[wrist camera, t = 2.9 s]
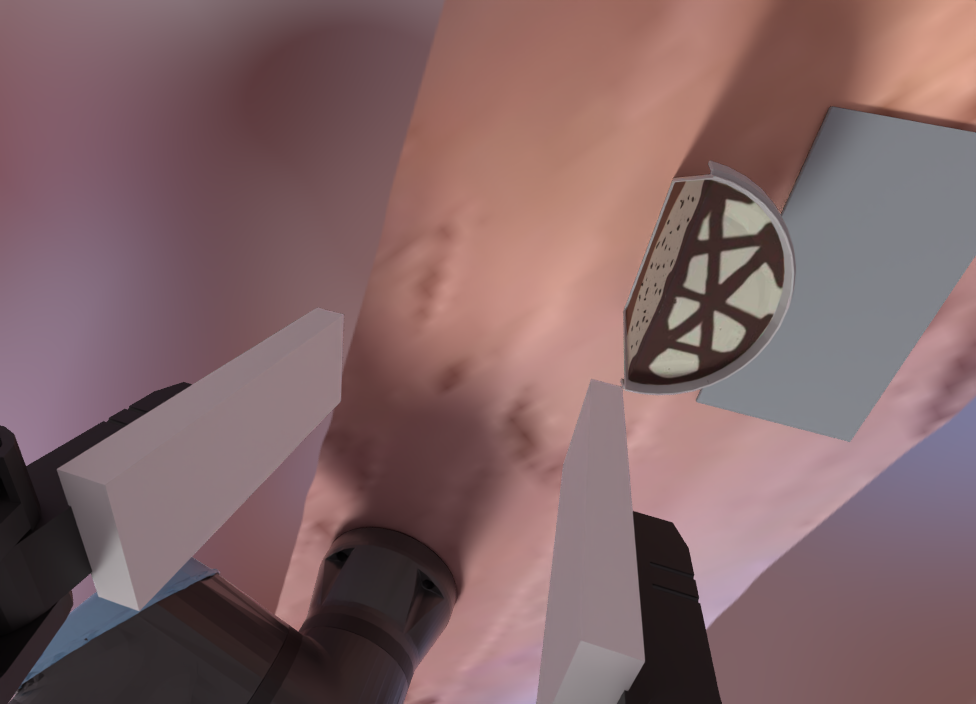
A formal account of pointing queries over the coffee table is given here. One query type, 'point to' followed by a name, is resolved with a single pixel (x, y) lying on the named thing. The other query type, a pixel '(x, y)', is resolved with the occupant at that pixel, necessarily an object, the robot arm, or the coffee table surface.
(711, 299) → the food container
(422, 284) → the coffee table surface
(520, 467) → the coffee table surface
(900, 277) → the mat
